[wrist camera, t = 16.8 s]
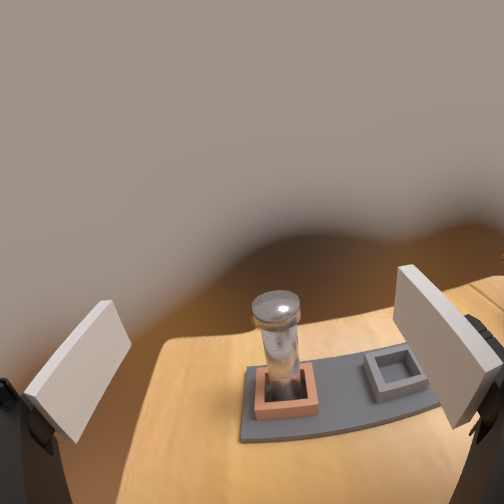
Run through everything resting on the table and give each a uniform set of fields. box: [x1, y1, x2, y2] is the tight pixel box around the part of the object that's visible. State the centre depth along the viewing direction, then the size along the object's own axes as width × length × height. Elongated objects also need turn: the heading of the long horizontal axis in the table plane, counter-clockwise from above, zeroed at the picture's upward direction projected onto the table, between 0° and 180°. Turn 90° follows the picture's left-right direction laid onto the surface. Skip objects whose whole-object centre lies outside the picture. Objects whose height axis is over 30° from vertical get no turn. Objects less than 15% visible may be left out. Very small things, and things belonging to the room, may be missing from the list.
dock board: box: [240, 342, 441, 443], centre depth 34 cm, size 28×14×4 cm, turn 87°
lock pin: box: [252, 290, 301, 402], centre depth 32 cm, size 5×5×16 cm
